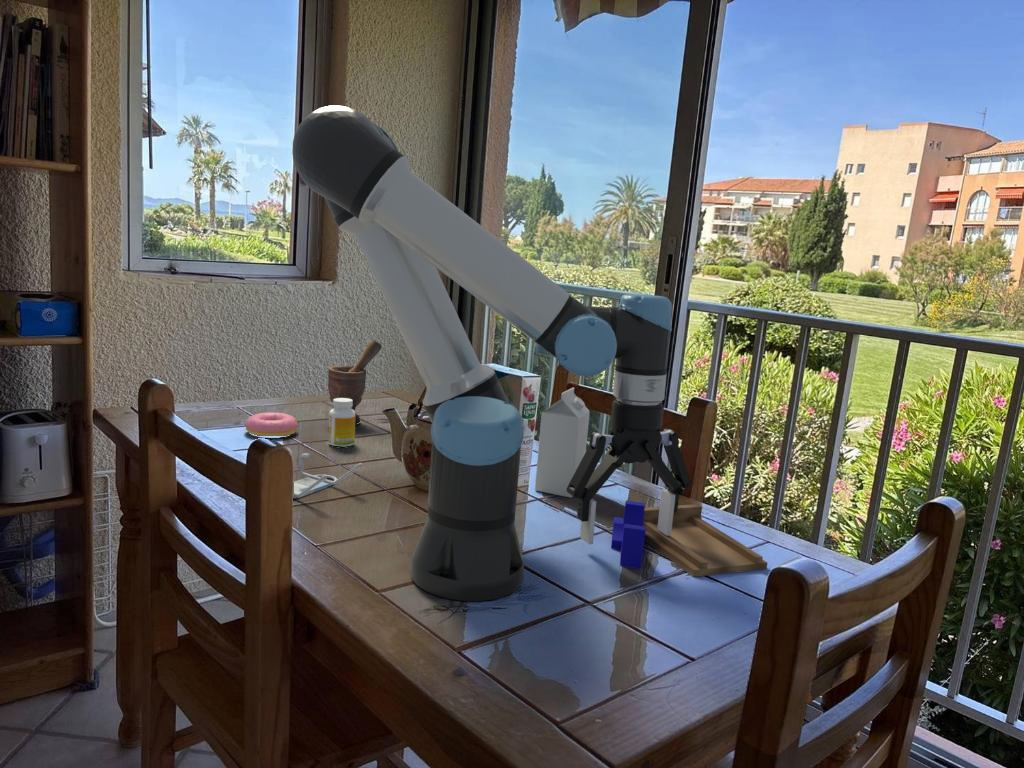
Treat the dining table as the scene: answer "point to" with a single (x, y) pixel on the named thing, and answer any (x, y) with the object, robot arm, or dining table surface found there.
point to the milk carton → (561, 443)
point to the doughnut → (271, 424)
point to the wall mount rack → (312, 485)
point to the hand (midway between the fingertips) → (626, 537)
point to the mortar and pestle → (351, 378)
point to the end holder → (699, 544)
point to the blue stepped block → (630, 534)
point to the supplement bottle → (342, 423)
